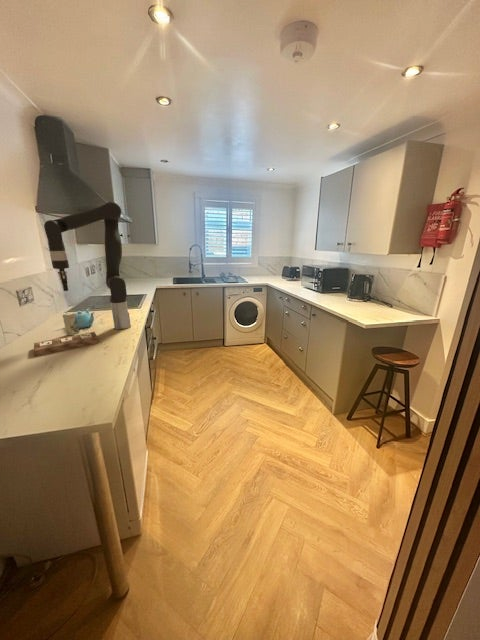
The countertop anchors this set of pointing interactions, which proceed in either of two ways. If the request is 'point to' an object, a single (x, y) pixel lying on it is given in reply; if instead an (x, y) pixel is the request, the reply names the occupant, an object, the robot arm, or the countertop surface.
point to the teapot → (84, 319)
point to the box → (70, 323)
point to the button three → (85, 336)
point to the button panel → (65, 344)
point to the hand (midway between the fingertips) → (66, 290)
